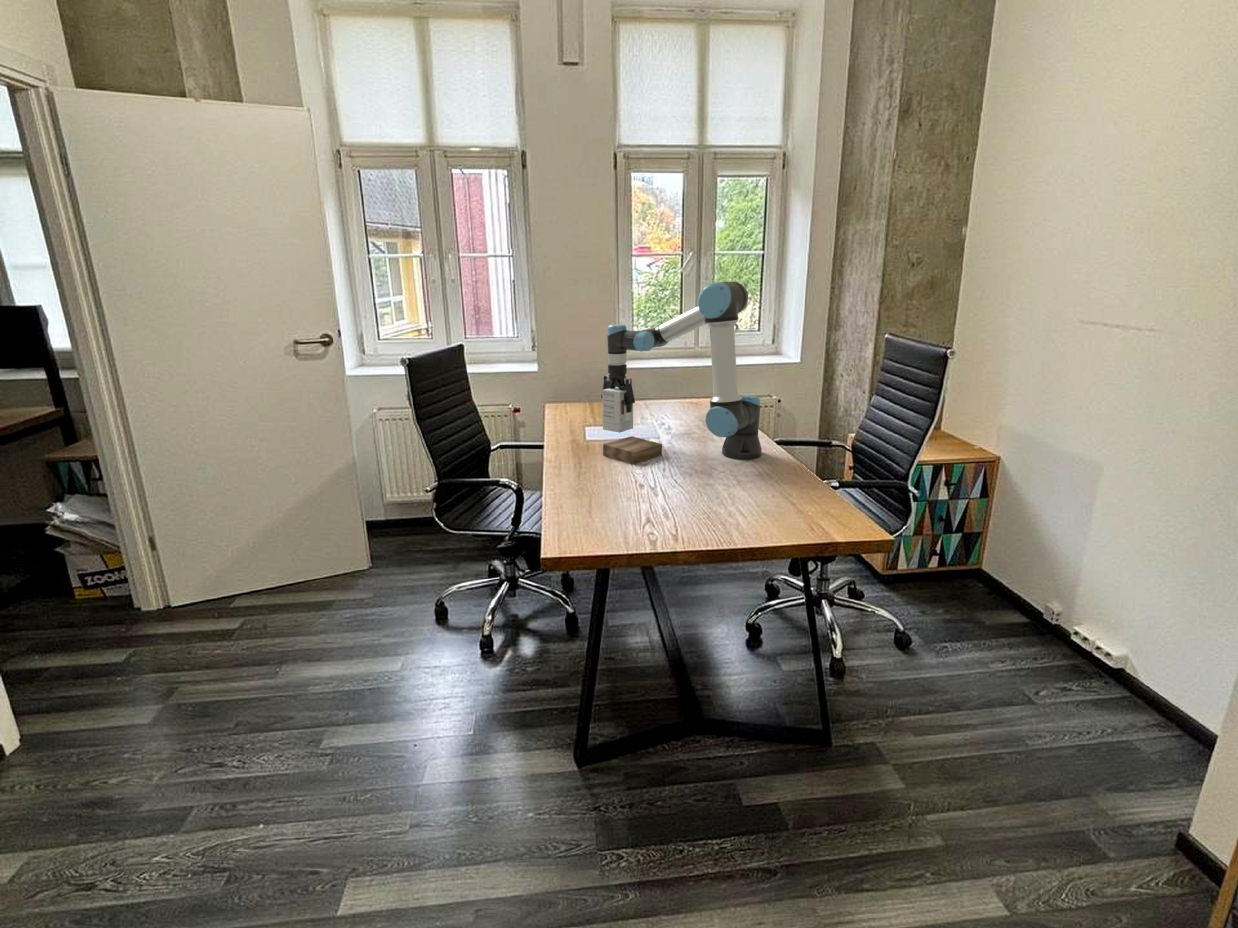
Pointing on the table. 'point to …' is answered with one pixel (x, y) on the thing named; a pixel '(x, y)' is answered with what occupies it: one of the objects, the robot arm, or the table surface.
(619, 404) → the supplement box
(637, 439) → the walnut block
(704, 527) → the table surface
